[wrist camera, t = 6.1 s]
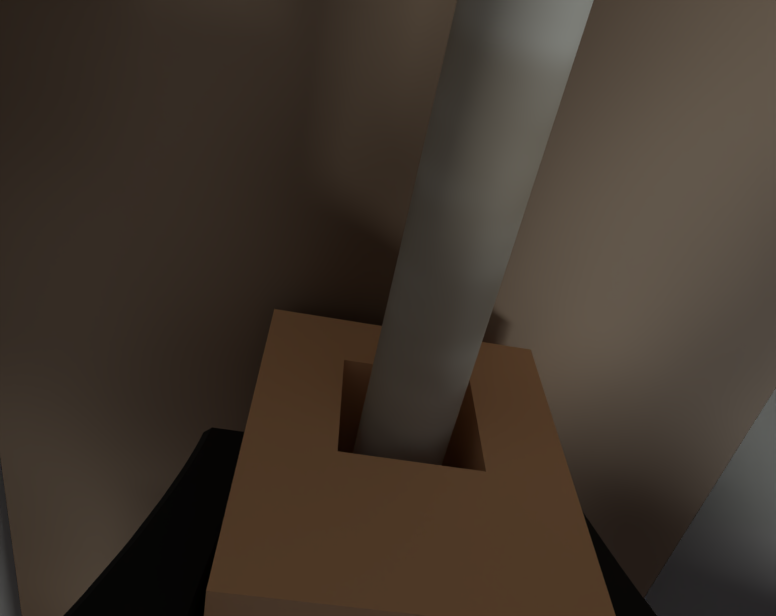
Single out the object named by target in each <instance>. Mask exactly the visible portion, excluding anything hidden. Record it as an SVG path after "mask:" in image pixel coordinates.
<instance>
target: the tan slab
mask: <svg viewBox="0 0 776 616" xmlns="http://www.w3.org/2000/svg"><path fill="white" fill-rule="evenodd" d="M274 309H278V310H284V311H290V312H297V313H303V314H309V315H316V316H322V317H328V318H335V319H341V320H347V321H354V322H360V323H366V324H373V325H379V326H382V328H381V333H380V337H379V341H378V346H377V350H376V354H375V359H374V363H373V367H372V372H371V376H370V380H369V385H368V389H367V393H366V398H365V402H364V406H363V411H362V415H361V419H360V424H359V428H358V432H357V437H356V441H355V445H354V450H353V453H354V454H361V455H368V456H375V457H383V458H390V459H397V460H405V461H412V462H419V463H427V464H434V465H441V466H442V463H443V459H444V456H445V453H446V450H447V447H448V444H449V441H450V438H451V435H452V432H453V429H454V426H455V423H456V420H457V417H458V414H459V411H460V407H461V404H462V401H463V398H464V395H465V392H466V389H467V386H468V383H469V380H470V377H471V374H472V371H473V368H474V365H475V362H476V359H477V356H478V352H479V349H480V346H481V343H482V342H486V343H493V344H499V345H505V346H511V347H518V348H524V349H530V350H531V352H532V355H533V358H534V361H535V364H536V368H537V371H538V374H539V377H540V380H541V383H542V386H543V389H544V393H545V396H546V399H547V402H548V405H549V408H550V411H551V415H552V418H553V421H554V424H555V427H556V430H557V433H558V437H559V440H560V443H561V446H562V449H563V452H564V455H565V458H566V462H567V465H568V468H569V471H570V474H571V477H572V480H573V484H574V487H575V490H576V493H577V496H578V499H579V502H580V505H581V509H582V511H583V512H584V514H585V515H586V517H587V518H588V520H589V521H590V523H591V524H592V526H593V527H594V529H595V530H596V532H597V533H598V534H599V536H600V537H601V539H602V540H603V542H604V543H605V545H606V546H607V548H608V549H609V550H610V552H611V553H612V555H613V556H614V558H615V559H616V560H617V562H618V563H619V565H620V566H621V568H622V569H623V570H624V572H625V573H626V575H627V576H628V577H629V579H630V580H631V582H632V583H633V584H634V586H635V587H636V588H637V590H638V591H639V592H640V594H641V595H642V597H643V598H644V597H645V596H646V594H647V592H648V591H649V589H650V588H651V586H652V584H653V583H654V581H655V580H656V578H657V576H658V575H659V573H660V572H661V570H662V568H663V567H664V565H665V564H666V562H667V560H668V559H669V557H670V556H671V554H672V552H673V551H674V549H675V548H676V546H677V544H678V543H679V541H680V540H681V538H682V537H683V535H684V533H685V532H686V530H687V529H688V527H689V525H690V524H691V522H692V521H693V519H694V517H695V516H696V514H697V513H698V511H699V509H700V508H701V506H702V505H703V503H704V501H705V500H706V498H707V497H708V495H709V493H710V492H711V490H712V489H713V487H714V485H715V484H716V482H717V481H718V479H719V477H720V476H721V474H722V473H723V471H724V470H725V468H726V466H727V465H728V463H729V462H730V460H731V458H732V457H733V455H734V454H735V452H736V450H737V449H738V447H739V446H740V444H741V442H742V441H743V439H744V438H745V436H746V434H747V433H748V431H749V430H750V428H751V426H752V425H753V423H754V422H755V420H756V418H757V417H758V415H759V414H760V412H761V411H762V409H763V407H764V406H765V404H766V403H767V401H768V399H769V398H770V396H771V395H772V393H773V391H774V390H775V388H776V0H0V458H1V466H2V473H3V481H4V488H5V495H6V503H7V510H8V518H9V525H10V532H11V540H12V547H13V555H14V562H15V569H16V577H17V584H18V592H19V599H20V606H21V614H22V616H64V614H65V613H66V612H67V611H68V610H69V609H70V608H71V607H72V606H73V605H74V604H75V603H76V602H77V600H78V599H79V598H80V597H81V596H82V595H83V594H84V593H85V591H86V590H87V589H88V588H89V587H90V586H91V584H92V583H93V582H94V581H95V580H96V579H97V578H98V576H99V575H100V574H101V573H102V572H103V571H104V569H105V568H106V567H107V566H108V565H109V564H110V562H111V561H112V560H113V559H114V558H115V557H116V556H117V554H118V553H119V552H120V551H121V550H122V548H123V547H124V546H125V545H126V544H127V542H128V541H129V540H130V539H131V537H132V536H133V535H134V533H135V532H136V531H137V530H138V528H139V527H140V526H141V524H142V523H143V522H144V520H145V519H146V518H147V517H148V515H149V514H150V513H151V511H152V510H153V509H154V507H155V506H156V505H157V504H158V502H159V501H160V500H161V498H162V497H163V495H164V494H165V493H166V491H167V490H168V488H169V487H170V486H171V484H172V483H173V481H174V480H175V478H176V477H177V476H178V474H179V473H180V471H181V470H182V468H183V466H184V465H185V463H186V462H187V460H188V459H189V457H190V455H191V454H192V452H193V450H194V449H195V447H196V445H197V444H198V442H199V440H200V438H201V436H202V434H203V432H205V431H206V430H208V429H210V428H212V427H213V428H220V429H227V430H234V431H242V432H245V428H246V424H247V420H248V415H249V411H250V407H251V403H252V399H253V395H254V391H255V386H256V382H257V378H258V374H259V370H260V366H261V362H262V357H263V353H264V349H265V345H266V341H267V337H268V333H269V328H270V324H271V320H272V316H273V312H274Z"/></svg>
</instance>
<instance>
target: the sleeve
mask: <svg viewBox="0 0 776 616" xmlns="http://www.w3.org/2000/svg"><path fill="white" fill-rule="evenodd" d="M381 328H382V326H379V325H373V324H366V323H360V322H354V321H347V320H341V319H335V318H328V317H322V316H316V315H309V314H303V313H297V312H290V311H284V310H278V309H274V312H273V316H272V320H271V324H270V328H269V333H268V337H267V341H266V345H265V349H264V353H263V357H262V362H261V366H260V370H259V374H258V378H257V382H256V386H255V391H254V395H253V399H252V403H251V407H250V411H249V415H248V420H247V424H246V428H245V432H244V436H243V440H242V444H241V448H240V453H239V457H238V461H237V465H236V469H235V473H234V477H233V482H232V486H231V490H230V494H229V498H228V502H227V506H226V511H225V515H224V519H223V523H222V527H221V531H220V535H219V540H218V544H217V548H216V552H215V556H214V560H213V564H212V569H211V573H210V577H209V581H208V585H207V589H206V597H205V608H204V616H616V615H615V612H614V609H613V606H612V603H611V599H610V596H609V593H608V590H607V587H606V584H605V581H604V578H603V574H602V571H601V568H600V565H599V562H598V559H597V556H596V552H595V549H594V546H593V543H592V540H591V537H590V534H589V531H588V527H587V524H586V521H585V518H584V515H583V512H582V509H581V505H580V502H579V499H578V496H577V493H576V490H575V487H574V484H573V480H572V477H571V474H570V471H569V468H568V465H567V462H566V458H565V455H564V452H563V449H562V446H561V443H560V440H559V437H558V433H557V430H556V427H555V424H554V421H553V418H552V415H551V411H550V408H549V405H548V402H547V399H546V396H545V393H544V389H543V386H542V383H541V380H540V377H539V374H538V371H537V368H536V364H535V361H534V358H533V355H532V352H531V350H530V349H524V348H518V347H511V346H505V345H499V344H493V343H486V342H482V343H481V346H480V349H479V352H478V356H477V359H476V362H475V365H474V368H473V371H472V374H471V377H470V380H469V383H468V386H467V389H466V392H465V395H464V398H463V401H462V404H461V407H460V411H459V414H458V417H457V420H456V423H455V426H454V429H453V432H452V435H451V438H450V441H449V444H448V447H447V450H446V453H445V456H444V459H443V463H442V466H441V465H434V464H427V463H419V462H412V461H405V460H397V459H390V458H383V457H375V456H368V455H361V454H354V453H353V450H354V445H355V441H356V437H357V432H358V428H359V424H360V419H361V415H362V411H363V406H364V402H365V398H366V393H367V389H368V385H369V380H370V376H371V372H372V367H373V363H374V359H375V354H376V350H377V346H378V341H379V337H380V333H381Z"/></svg>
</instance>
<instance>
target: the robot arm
mask: <svg viewBox="0 0 776 616" xmlns="http://www.w3.org/2000/svg"><path fill="white" fill-rule="evenodd" d="M243 436H244V432H242V431H234V430H227V429H220V428H213V427H212V428H210V429H208V430H206V431H205V432H203V434H202V436H201V438H200V440H199V442H198V444H197V445H196V447H195V449H194V450H193V452H192V454H191V455H190V457H189V459H188V460H187V462H186V463H185V465H184V466H183V468H182V470H181V471H180V473H179V474H178V476H177V477H176V478H175V480H174V481H173V483H172V484H171V486H170V487H169V488H168V490H167V491H166V493H165V494H164V495H163V497H162V498H161V500H160V501H159V502H158V504H157V505H156V506H155V507H154V509H153V510H152V511H151V513H150V514H149V515H148V517H147V518H146V519H145V520H144V522H143V523H142V524H141V526H140V527H139V528H138V530H137V531H136V532H135V533H134V535H133V536H132V537H131V539H130V540H129V541H128V542H127V544H126V545H125V546H124V547H123V548H122V550H121V551H120V552H119V553H118V554H117V556H116V557H115V558H114V559H113V560H112V561H111V562H110V564H109V565H108V566H107V567H106V568H105V569H104V571H103V572H102V573H101V574H100V575H99V576H98V578H97V579H96V580H95V581H94V582H93V583H92V584H91V586H90V587H89V588H88V589H87V590H86V591H85V593H84V594H83V595H82V596H81V597H80V598H79V599H78V600H77V602H76V603H75V604H74V605H73V606H72V607H71V608H70V609H69V610H68V611H67V612H66V613H65V614H64V616H204V608H205V597H206V589H207V585H208V581H209V577H210V573H211V569H212V564H213V560H214V556H215V552H216V548H217V544H218V540H219V535H220V531H221V527H222V523H223V519H224V515H225V511H226V506H227V502H228V498H229V494H230V490H231V486H232V482H233V477H234V473H235V469H236V465H237V461H238V457H239V453H240V448H241V444H242V440H243ZM582 512H583V511H582ZM583 515H584V518H585V521H586V524H587V527H588V531H589V534H590V537H591V540H592V543H593V546H594V549H595V552H596V556H597V559H598V562H599V565H600V568H601V571H602V574H603V578H604V581H605V584H606V587H607V590H608V593H609V596H610V599H611V603H612V606H613V609H614V612H615V615H616V616H657V615H656V614H655V613H654V611H653V610H652V609H651V607H650V606H649V605H648V603H647V602H646V601H645V599H644V598H643V597H642V595H641V594H640V592H639V591H638V590H637V588H636V587H635V586H634V584H633V583H632V582H631V580H630V579H629V577H628V576H627V575H626V573H625V572H624V570H623V569H622V568H621V566H620V565H619V563H618V562H617V560H616V559H615V558H614V556H613V555H612V553H611V552H610V550H609V549H608V548H607V546H606V545H605V543H604V542H603V540H602V539H601V537H600V536H599V534H598V533H597V532H596V530H595V529H594V527H593V526H592V524H591V523H590V521H589V520H588V518H587V517H586V515H585V514H584V512H583Z"/></svg>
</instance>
